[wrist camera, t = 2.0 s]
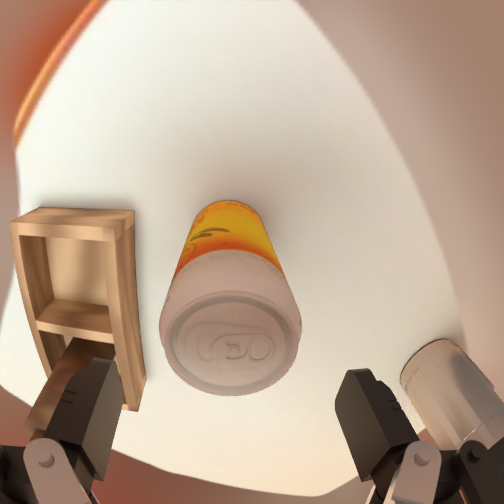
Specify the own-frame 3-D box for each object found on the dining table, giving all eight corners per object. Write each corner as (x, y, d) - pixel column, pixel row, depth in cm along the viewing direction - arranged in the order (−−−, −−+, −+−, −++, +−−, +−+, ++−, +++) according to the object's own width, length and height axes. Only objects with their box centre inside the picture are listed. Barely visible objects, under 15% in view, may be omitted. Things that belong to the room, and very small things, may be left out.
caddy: (134, 210, 24) (27, 313, 9) (146, 379, 31) (118, 504, 16) (39, 207, 23) (-86, 281, 8) (69, 365, 29) (19, 471, 14)
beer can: (190, 198, 24) (144, 282, 10) (265, 199, 25) (317, 282, 11) (192, 267, 26) (165, 400, 12) (262, 268, 27) (298, 398, 13)
